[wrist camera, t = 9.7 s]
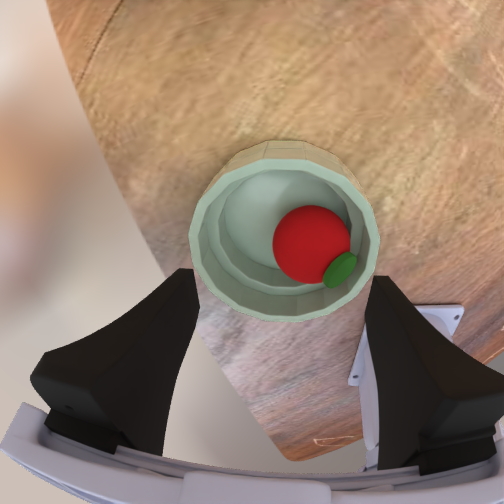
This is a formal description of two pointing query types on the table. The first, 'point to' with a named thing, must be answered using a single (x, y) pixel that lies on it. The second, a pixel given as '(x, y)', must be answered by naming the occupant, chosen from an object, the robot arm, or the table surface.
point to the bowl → (265, 222)
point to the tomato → (313, 246)
